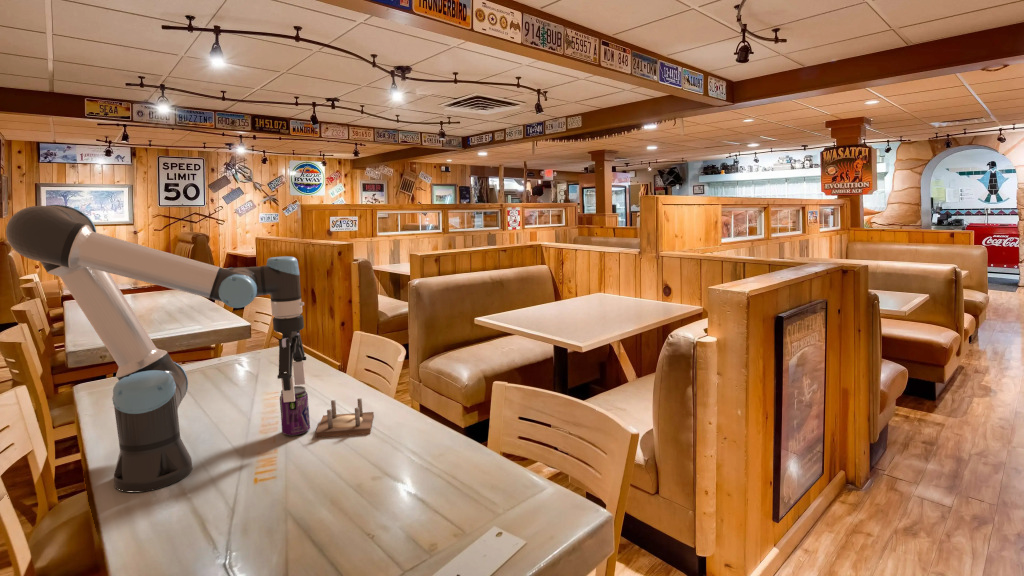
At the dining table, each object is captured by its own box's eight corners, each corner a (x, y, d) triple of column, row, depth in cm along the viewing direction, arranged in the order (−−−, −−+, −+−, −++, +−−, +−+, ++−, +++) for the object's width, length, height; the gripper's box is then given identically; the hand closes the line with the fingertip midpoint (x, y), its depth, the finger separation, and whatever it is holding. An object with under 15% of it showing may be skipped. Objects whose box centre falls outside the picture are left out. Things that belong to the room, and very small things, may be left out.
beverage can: (300, 438, 148) (297, 395, 146) (276, 436, 150) (273, 393, 148) (315, 427, 155) (312, 386, 153) (292, 426, 156) (289, 384, 154)
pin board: (370, 433, 151) (369, 410, 150) (316, 437, 148) (314, 414, 147) (373, 416, 162) (372, 395, 161) (323, 420, 160) (322, 398, 159)
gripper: (292, 324, 136) (300, 408, 139) (311, 305, 160) (317, 376, 163) (259, 326, 134) (268, 410, 138) (283, 307, 159) (290, 378, 162)
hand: (295, 392), depth 151 cm, fingers open, 13 cm apart
